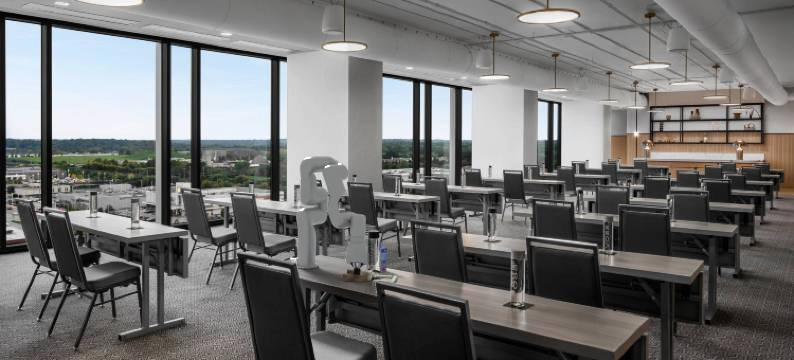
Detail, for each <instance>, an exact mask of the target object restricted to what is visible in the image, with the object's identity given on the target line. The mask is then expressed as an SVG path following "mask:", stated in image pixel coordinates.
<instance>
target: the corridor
mask: <svg viewBox="0 0 794 360" xmlns="http://www.w3.org/2000/svg"><path fill="white" fill-rule="evenodd" d="M362 270H363V269H360V272H361V271H362ZM342 282H359V283H368V275H355V274H354V268H353V269H350V268H347V269H346V274H345V273H343V274H342Z"/></svg>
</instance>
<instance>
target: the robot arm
mask: <svg viewBox="0 0 794 360" xmlns="http://www.w3.org/2000/svg"><path fill="white" fill-rule="evenodd" d="M299 173H300V188H299V189H300V190H299V192H300V193H299V199H300V200H299V201H300V203H301V204H302V205H303V206H308V207H303V208H301V209H299V210H298V211H297V212H296V216H295V217H296V224H297V257H295V258H294V257H290V258H289V261H297V266H298V268H297V269H303V270H304V268H305V269H306V270H307V269H316V268H318V267H319V263H318V262H316V259H317V258H316V256H317V255H316V251H317V249H316V247H317V242H316V241H317V234H316V233H317V232H316V230H315V227H314V226H315V225H316V226H317V225H321V224H323V223H325V222H326V221H327V218H329V220H330V222H331V224H332V226H333V228H335V229H346V228H347V229H348V228H350V229H349V236H347V237H346V238H347V240H349V241H348V242H347V243H348V244H347V250H346V264H347V265H351V267H352V268H353V270H354V274H355V275H360V270H361V268H362V267H364V266H367V264H368V249H367V247H368V243H367V242H366V234H367V233H366V232H367V230H366V229H367V228H366V224H367V223H366V222H367V221H366V220H367V217H366V215H364V214H360V213H356V212H353V211H347V212H340V209H339V201H340V199H341V198H342V197H344V195H345V194H346V193H347V190H346V188H345V184H344V182H343V181H345V180H347V179H348V178H349V169H348V168H347V166H346V165H345V164H343V163H342V162H340V161H339V160H337V159H335V158H334V157H332V156H327V155H323V156H318V155H315V156H308V157H305V158H303V160H301V162H300V165H299ZM315 173H322V177H323V180H324V182H325V185H326V188H327V190H326V189H325V188H324V187H323V186H317V183H318V179H317V176H316V175H315ZM309 206H310V207H309ZM313 206H314V207H313ZM357 264H358V265H357Z"/></svg>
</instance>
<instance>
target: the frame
mask: <svg viewBox="0 0 794 360" xmlns="http://www.w3.org/2000/svg"><path fill="white" fill-rule="evenodd" d="M376 276H377V277H376ZM375 277H376V278H379V279H373V280H372V282H373V283H375V282H376V281H387V282H390V283H391V282H393V283H394V284H395V282H396V281H397V277H398V275H393V274H392V275H391V274H390V275H389V274H388V275H387V274H376V275H375ZM380 278H381V279H382V280H381V279H380ZM385 278H386V279H391V280H385ZM375 284H376V283H375Z"/></svg>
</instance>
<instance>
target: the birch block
mask: <svg viewBox="0 0 794 360" xmlns="http://www.w3.org/2000/svg"><path fill="white" fill-rule="evenodd" d="M361 270H362V271H361V272H360V275H368V281H371V280H372V279H373V270H368V269H361ZM368 281H367V282H368Z"/></svg>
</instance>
